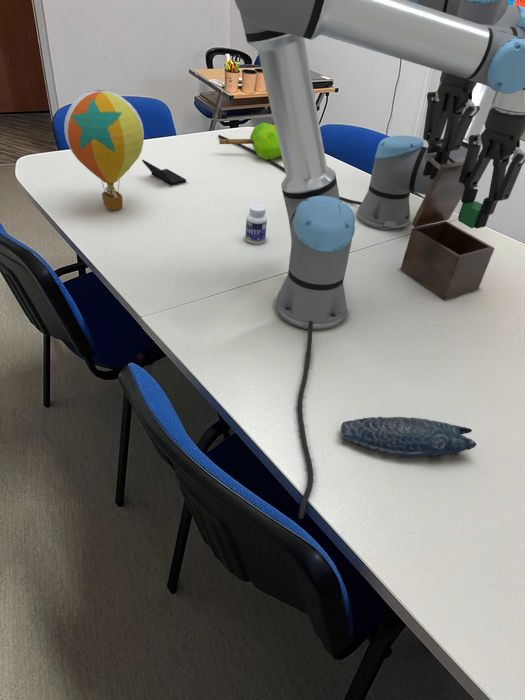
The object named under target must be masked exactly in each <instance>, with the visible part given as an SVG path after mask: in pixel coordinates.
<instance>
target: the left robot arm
mask: <svg viewBox="0 0 525 700" xmlns="http://www.w3.org/2000/svg"><path fill="white" fill-rule="evenodd" d="M234 2H235V3H234V4H235V5H236V8H237V10H238V11H239V14H240V18H241V19H240V20H241V22H242V26H243V31H244V35H245V40H246V43H247V44H248V45H249V46H251V47H252V48H254V49H255V50H256V52H257V55H258V58H259V63H260V67H261V71H262V75H263V81H264V85H265V90H266V93H267V97H268V103H269V107H270V111H271V115H272V120H273V125H275V129H276V133H277V138H278V142H279V146H280V151H281V155H282V156H281V159H282V163H283V167H284V168H285V171H284V172H285V176H284V178H283V180H282V182H281V184H280V187H281V190H282V196H283V200H284V204H285V208H286V213H287V217H288V224H289V230H290V231H289V232H290V238H291V239H290V240H291V241H290V242H291V243H290V255H289V262H288V263H289V264H288V270H287V271H288V272H287V275H286V278H285V279H284V282H283V283H282V285H281V287H280V290H279V291H278V294H277V296H276V300H275V311H276V313H277V315H278V316H279V317H280V318H281V319H282V320H283V321H284V322H286V323H287V324H289V325H291V326H293V327H296V328H300V329H304V330H307V342H306V344H307V345H306V354H305V362H304V368H303V375H302V379H301V383H300V387H299V390H298V397H297V420H298V427H299V433H300V440H301V446H302V450H303V455H304V459H305V464H306V469H307V483H306V488H305V490H304V493H303V496H302V498H301V502H300V505H299V508H298V509H299V510H298V514H297V516H298V519H299V520H302V519H304V517H305V513H306V510H307V509H306V508H307V505H308V501H309V498H310V495H311V493H312V490H313V486H314V468H313V463H312V458H311V455H310V452H309V447H308V443H307V436H306V430H305V424H304V423H305V422H304V416H303V415H304V414H303V400H304V394H305V388H306V385H307V381H308V375H309V370H310V362H311V353H312V343H313V342H312V341H313V331H324V330H325V331H326V330H329V329H333V328H336V327H337V326H339V325H340V324H342V323H343V322H344V320H345V318H346V315H347V310H348V309H347V308H348V307H347V306H348V305H347V297H346V292H345V286H344V280H345V275H346V271H347V267H348V261H349V257H350V251H351V246H352V241H353V237H354V235H355V230H356V229H355V228H356V225H355V224H356V216H355V212H354V211H353V209H352V208H351V206H350V205H349V204H347V202H343V201H342V200H340V197H341V196H340V193H339V186H338V180H337V173H336V171H335V170H334V169H333V168H331V167H329V166H328V165H327V160H326V155H325V148H324V144H323V137H322V131H321V126H320V120H319V115H318V109H317V108H318V107H317V102H316V96H315V92H314V86H313V80H312V74H311V68H310V63H309V57H308V53H307V51H308V50H307V46H306V40H305V39H307V40H311V41H314V39H316V38H317V37H319V36H324V37H326V38H330V39H334V40H337V41H340V42H343V43H347V44H350V45H353V46H357V47H360V48H363V49H366V50H369V51H372V52H376V53H380V54H383V55H387V56H389V57H393V58H397V59H399V60H403V61H406V62H409V63H413V64H416V65H419V66H422V67H426V68H429V69H432V70H435V71H438V72H441V73H442V72H445V73H449V74H452V75H455V76H458V77H462V78H465V79H467V80H470V81H473V82H477V83H480V84H483V85H486V86H489V87H491V89H492V90H494V91H496V92H495V95H494V98H493V101H492V105H491V106H492V107H490V110H489V112H488V115H487V117H486V120H485V122H484V130H483V131H482V132H481V133H480V134H477V135H470V136H469V147H468V151H467V154H466V157H465V161H464V164H463V168H462V171H461V175H460V178H459V182H460V183H463V185H464V187H465V189H464V193H463V196H462V199H461V200H460V202H461V203H462V204H461V207H460V210H459V213H458V216H457V220H459V217H460V214H461V211H462V208H463V205H464V204H465V203H470V202H475V201H476V197H477V195H478V192H479V189H478V187H479V185H478V184H479V182H480V180H481V178H482V177H483V174H484V173H485V171H486V169H487V167H488V166H489V164H490V162H491V161H492V166H493V168H492V174H491V179H490V185H489V191H488V195H487V196H488V197H485V198H484V199H483V200H482V203H481V204H482V206H481V209H480V212H479V215H478V218H477V220H476V223H475V226H474V227H475V228H474V229H481V228H485V227H486V226H487V223H488V220H489V218H490V216H491V215H493V214H494V213H495V210H496V207H497V205H498V202H501V201H506V200H509V198H510V196H511V194H512V191H513V189H514V186H515V184H516V183H517V182H516V181H517V179H518V176H519V175H520V173H521V169H522V168H523V165H524V164H525V152H524V151H523V150H522V149H521V148H520V147H521V138H522V136H523V135H524V133H525V15H523V16H521V17H520V19H519V21H518V23H517V25H516V27H501V26H492V25H483V24H477V23H474V22H471V21H468V20H465V19H462V18H459V17H456V16H453V15H450V14H447V13H444V12H441V11H438V10H435V9H431V8H428V7H425V6H422V5H419V4H416V3H413V2H410V1H407V0H234ZM481 146H482V147H481ZM477 158H478V161H477ZM510 159H511V161H510ZM476 161H477V162H476ZM339 196H340V197H339Z"/></svg>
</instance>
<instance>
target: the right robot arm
mask: <svg viewBox="0 0 525 700" xmlns="http://www.w3.org/2000/svg"><path fill="white" fill-rule="evenodd" d="M407 1H410V2H413V3H416V4H419V5H422V6H425V7H428V8H431V9H435V10H438V11H441V12H444V13H447V14H450V15H453V16H456V17H459V18H462V19H465V20H468V21H471V22H474V23H477V24H483V25H492V26H501V27H516V25H517V23H518V21H519V19H520V17H521V16H523V15H525V6H522V5H520V4H517V5H509V4H510V0H407ZM439 82H440V85H439V86H438V88H437V90H435V91H428V92H427V94H426V100H427V106H426V115H425V120H424V121H425V122H424V128H423V135H422V138H420V137H418V136H413V135H393V136H387V137H385V138H383V139H381V140H380V141H379V142H378V145H377V149H376V152H375V155H374V161H373V165H372V166H373V167H372V170H371V175H370V181H369V186H368V191H367V192H366V194H365V196H364V198H363V199H362V201H358V200H353V199H349V198H346V197H342V196H340V195H339V197H340V200H341V201H342V202H344V203H349V204H353V205H358V209H357V212H356V217H357V219H358V221H359V222H360V223H362V224H363V225H365V226H367V227H370V228H373V229H376V230H381V231H389V232H391V231H392V232H393V231H400V230H401V231H402V230H404V229H406V228H407V227H409V225H410V220H411V208H410V196H411V192H412V193H416V194H421V195H423V196H426V194H427V192H428V190H429V188H430V186H431V184H432V182H433V180H434V178H435V176H436V174H437V172H438V170H439V169H438V168H436V167H435V166H434V165H433V164H432V163H431V162H430V161H425V160H424V156H425V154H428V153H435V152H437V154H436V158H435V161H437V162H438V163H439V164H440V165H443V164H449V163H451V162H450V161H449V160H448V158H449V155H450V156H451V157H452V158H453V159H455V160H456V161H457V162H462V161H465V157H466V154H467V151H468V147H469V136H470V135H477V134H480V135H481V133H482V130H483V127H484V126H485V123H486V120H487V117H488V114H489V110H490V109H491V108H492V106H493V105H492V101H493V98H494V95H495V92H496V91H494V90H492V89H491V87H489V86H486V85H483V84H480V83H477V82H473V81H470V80H467V79H465V78H462V77H458V76H455V75H452V74H449V73H445V72H442V71H441V74H440V77H439ZM443 133H444V134H443ZM442 136H443V137H442ZM217 137H218V138H219V139H229V138H228V137H226V136H223V135H221V134H218V135H217ZM424 141H425V142H427V146H424V145H425V144H424V143H425V142H424ZM235 145H236V146H238V147H239V148H242V149H244V150H247V151H249V152H251V153H252V154H254V155H256V156H258V155H257V153H256V151H255V149H252V148H251V147H248V146H247V145H245V144H235ZM477 159H478V158H477ZM264 160H265V161H266V162H268V163H270V164H272V165H273V166H275V167H277V168H278V169H280V170H282V171H283V172H285V168H284V166H282V165H280V164H279V163H277V162H276V161H274V160H273V159H267V160H266V159H264ZM461 199H462V197H461ZM461 199H460V201H461Z"/></svg>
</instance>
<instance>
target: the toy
mask: <svg viewBox="0 0 525 700" xmlns="http://www.w3.org/2000/svg"><path fill="white" fill-rule="evenodd" d="M63 128H64V130H63V131H64V132H63V133H64V137H65V141H66V144H67V146H68V148H69V150H70V151H71V152H72V154H73V156H75V158H76V159H77V161H78V162H80V163H81V165H83V166H84V167H85V168H86V169H87V170H88V171H90V172H91V173H92V174H93V175H94V176H96V177H97V178H98V179H100V180H101V183H102V184H101V185H102V187H103V191H102V193H101V198H102V203H103V205H104V207H105V208H106V209H108V210H109V211H110V212H113V211H118V210H121V209H122V208H123V203H124V201H123V195H122V194H121V193H120V192H119V191H118V190H119V188H120V183H118V182H120V181H121V178H122V177H123V176H124V175H125V174H126V173H127V172H128V171H129V170H130V169H131V167H133V165H134V164H135V163H136V161H137V160H138V159H139V158H140V155H141V153H142V150H143V147H144V141H145V131H144V130H145V129H144V125H143V121H142V119H141V116H140V114H139V113H138V111H137V109H136V108H134V106H133V105H132V103H130V102H129V101H128V100H127V99H126V98H124V97H123V96H122V95H119V94H117V93H115V92H112V91H109V90H102V89H101V90H100V89H98V90H92V91H87V92H85V93H82V95H79V96H78V97H77V98H76V99H75V100H73V102H72V103H71V105H70V107H69V108H68V111H67V112H66V114H65V118H64V124H63ZM104 183H105V184H106V185H107V186H106V187H105V186H104ZM115 183H118V185H117V190H116V188H115Z"/></svg>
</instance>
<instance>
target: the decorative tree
mask: <svg viewBox="0 0 525 700" xmlns="http://www.w3.org/2000/svg"><path fill="white" fill-rule="evenodd" d="M218 143H219V145H236V144H242V145H252V147H253V150H254V151H256V153H257V155H256V156H258V157H259V158H261V159H263V160H265V159H266V160H265V161H267V159H271V160H273V159H275V158H278V157H282V155H281V151H280V146H279V142H278V138H277V133H276V129H275V124H271V123H268V122H262V123H259V124H258V125H256V126H254V127H253V129H252V131H251V134H250V137H249V138H228V139H221V138H219V141H218Z"/></svg>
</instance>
